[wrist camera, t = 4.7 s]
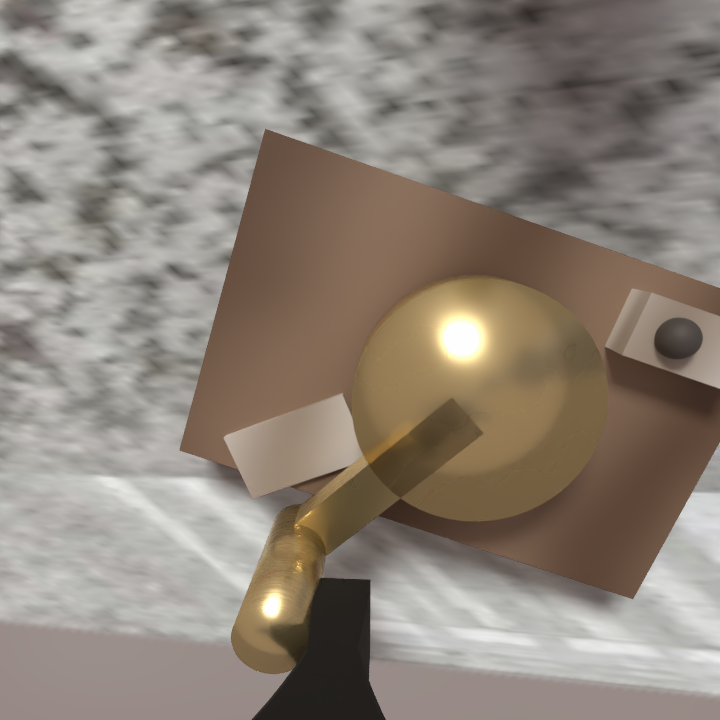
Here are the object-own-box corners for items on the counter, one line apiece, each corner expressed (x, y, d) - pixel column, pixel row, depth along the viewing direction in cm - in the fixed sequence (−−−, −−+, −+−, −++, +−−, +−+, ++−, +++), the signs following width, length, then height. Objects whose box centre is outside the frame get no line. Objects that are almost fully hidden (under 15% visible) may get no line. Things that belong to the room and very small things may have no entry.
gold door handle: (486, 223, 13) (540, 217, 8) (630, 400, 13) (749, 478, 9) (210, 464, 14) (135, 563, 10) (353, 605, 15) (340, 752, 11)
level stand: (737, 303, 15) (845, 323, 11) (596, 573, 17) (650, 659, 14) (281, 143, 15) (248, 113, 11) (198, 442, 17) (149, 497, 13)
